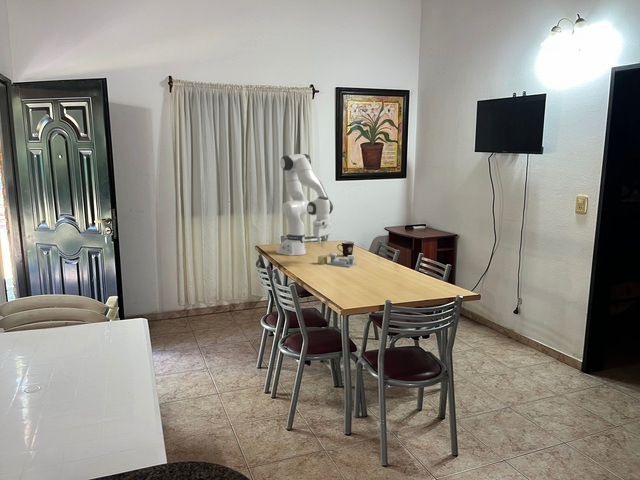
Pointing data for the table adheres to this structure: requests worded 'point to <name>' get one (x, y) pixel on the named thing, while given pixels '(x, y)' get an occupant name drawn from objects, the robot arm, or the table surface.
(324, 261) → the coupler
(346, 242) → the coffee mug
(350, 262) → the shaft rig
